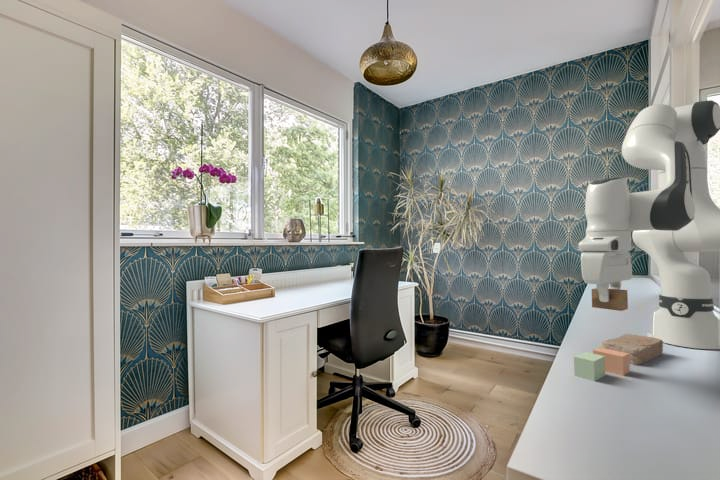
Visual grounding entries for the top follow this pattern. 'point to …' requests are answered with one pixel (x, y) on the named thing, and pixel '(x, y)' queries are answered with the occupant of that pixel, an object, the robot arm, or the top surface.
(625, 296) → the walnut block
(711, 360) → the top surface
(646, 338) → the brick
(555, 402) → the top surface
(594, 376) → the sage block
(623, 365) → the terracotta block
